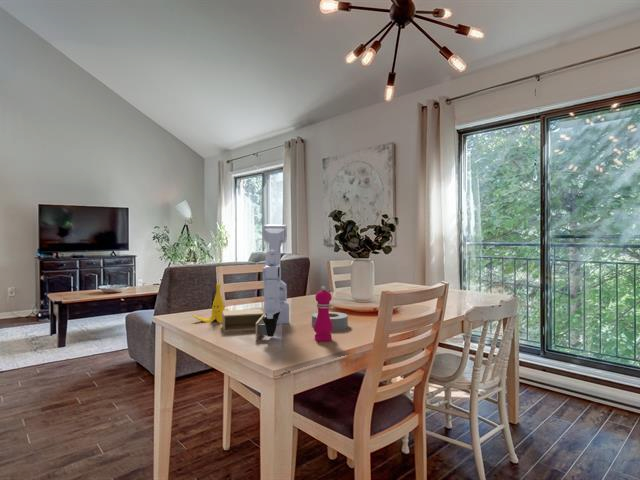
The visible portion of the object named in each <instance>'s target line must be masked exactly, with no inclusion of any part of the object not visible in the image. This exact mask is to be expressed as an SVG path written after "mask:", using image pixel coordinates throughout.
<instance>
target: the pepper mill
mask: <svg viewBox="0 0 640 480" xmlns="http://www.w3.org/2000/svg"><path fill="white" fill-rule="evenodd" d="M332 299H333V298H332V294H331V292H330V291H328V290H327V287H326V286H325V285H322V286H321V290H319V291H317V292H316V294H315V300H316V302H317V303H316V308H317V313H318V315H317V319H316V321H315V323H314V328H313V330H314V332H315V334H314V340H315V341H317V342H320V343H321V342H330V341H332V334H331V333H332V332H333V331H332V330H333V325H332V322H331V320H330V317H329V312H330V308H331V303H330V302H331V301H332Z"/></svg>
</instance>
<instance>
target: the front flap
mask: <svg viewBox="0 0 640 480" xmlns="http://www.w3.org/2000/svg"><path fill="white" fill-rule="evenodd" d="M263 317H266V314H265V313H264V314H263V315H262V316H261V318H260V319H259V320H258V321H257V322H256V330H255V340H258V339H259V338H260V336H264V337H265V336H267V331H266V326H265V323H264V321H263ZM267 337H268V336H267Z"/></svg>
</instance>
